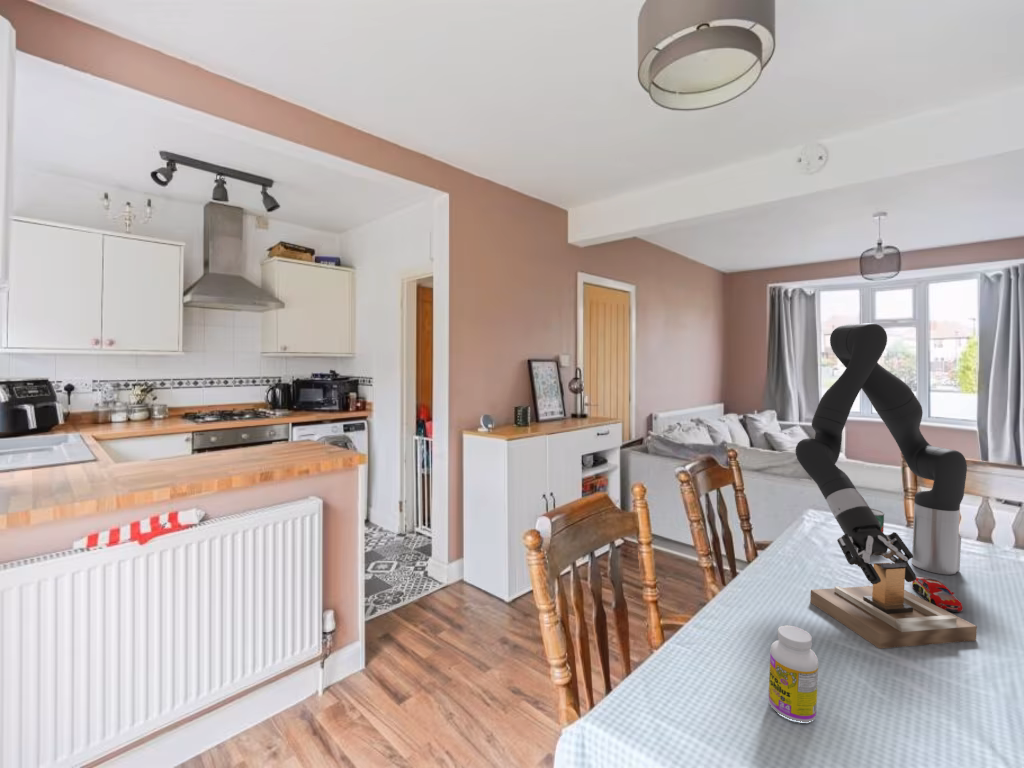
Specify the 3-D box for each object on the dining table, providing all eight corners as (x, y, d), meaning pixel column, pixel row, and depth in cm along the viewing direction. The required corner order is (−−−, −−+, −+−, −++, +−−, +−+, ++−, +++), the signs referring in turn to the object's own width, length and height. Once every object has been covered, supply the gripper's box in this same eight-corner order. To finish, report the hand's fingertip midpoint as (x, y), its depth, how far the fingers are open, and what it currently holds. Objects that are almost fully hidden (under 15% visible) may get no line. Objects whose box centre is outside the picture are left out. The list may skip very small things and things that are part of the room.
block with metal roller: (888, 599, 106) (890, 555, 106) (912, 612, 101) (914, 566, 100) (863, 600, 105) (865, 556, 105) (886, 614, 100) (888, 567, 99)
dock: (893, 596, 113) (894, 576, 113) (976, 640, 96) (977, 616, 95) (810, 602, 111) (811, 581, 110) (879, 648, 93) (880, 623, 93)
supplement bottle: (759, 696, 79) (761, 622, 79) (796, 694, 80) (799, 620, 79) (786, 727, 73) (788, 646, 72) (826, 725, 73) (829, 644, 73)
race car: (967, 617, 105) (968, 599, 105) (937, 612, 107) (937, 595, 107) (935, 589, 118) (936, 574, 117) (908, 586, 119) (909, 570, 119)
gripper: (834, 505, 108) (876, 577, 98) (889, 503, 110) (937, 573, 99) (815, 520, 114) (854, 590, 103) (868, 518, 116) (911, 586, 105)
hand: (894, 581), depth 101 cm, fingers open, 8 cm apart
